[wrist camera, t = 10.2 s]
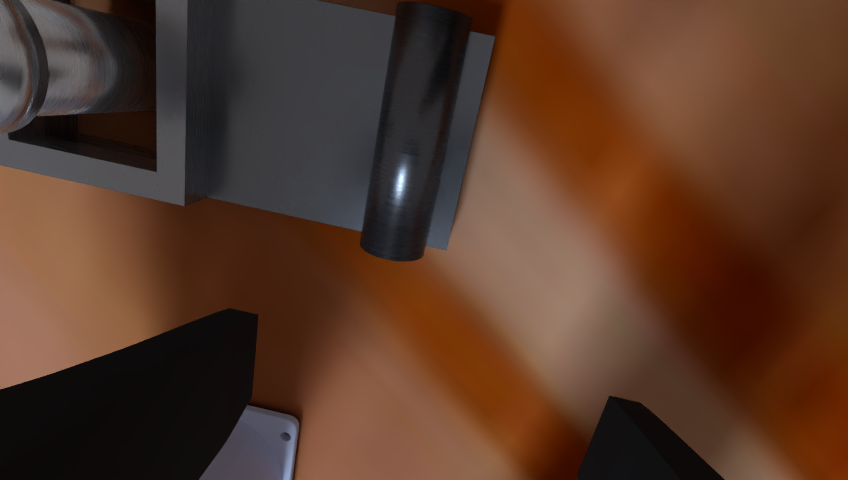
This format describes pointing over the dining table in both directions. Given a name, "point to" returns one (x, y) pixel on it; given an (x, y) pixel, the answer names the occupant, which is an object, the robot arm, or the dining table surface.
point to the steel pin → (72, 62)
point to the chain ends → (296, 117)
